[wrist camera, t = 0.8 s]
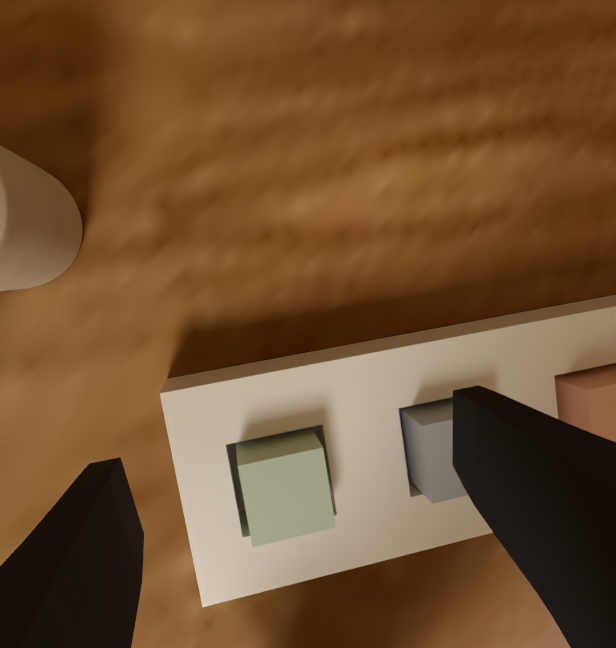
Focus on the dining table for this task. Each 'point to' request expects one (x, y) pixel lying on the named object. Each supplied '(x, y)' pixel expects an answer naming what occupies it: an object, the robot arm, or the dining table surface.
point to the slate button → (431, 449)
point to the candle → (34, 224)
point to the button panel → (358, 437)
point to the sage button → (284, 486)
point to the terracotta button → (589, 400)
